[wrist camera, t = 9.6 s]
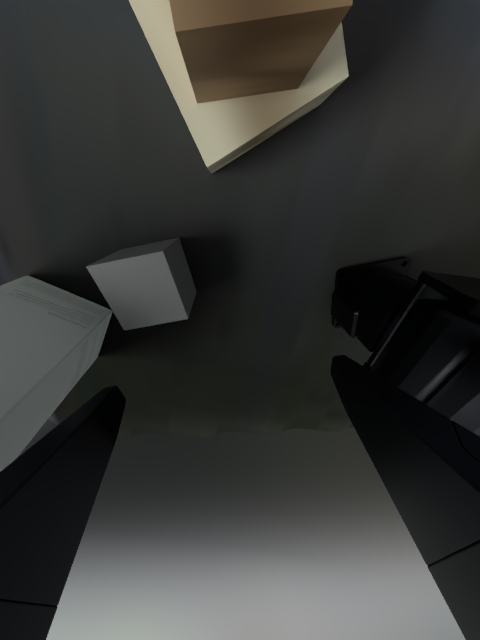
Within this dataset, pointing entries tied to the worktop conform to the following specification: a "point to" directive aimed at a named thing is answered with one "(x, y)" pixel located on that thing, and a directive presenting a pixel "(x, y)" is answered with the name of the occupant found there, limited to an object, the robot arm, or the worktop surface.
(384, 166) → the worktop surface
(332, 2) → the walnut cube
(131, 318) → the gray cube
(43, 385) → the supplement box
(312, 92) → the birch block
